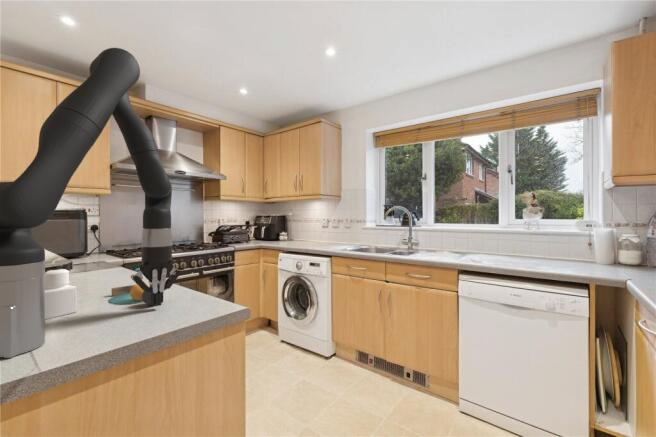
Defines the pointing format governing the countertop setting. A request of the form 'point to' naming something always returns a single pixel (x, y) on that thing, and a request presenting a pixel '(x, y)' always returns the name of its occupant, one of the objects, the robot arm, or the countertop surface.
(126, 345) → the countertop surface
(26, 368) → the countertop surface
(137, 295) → the orange ball
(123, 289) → the walnut stopper strip
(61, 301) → the medicine bottle
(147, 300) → the black ball
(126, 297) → the teal mark
